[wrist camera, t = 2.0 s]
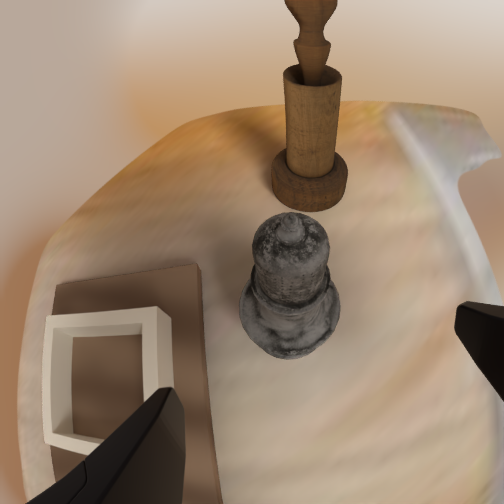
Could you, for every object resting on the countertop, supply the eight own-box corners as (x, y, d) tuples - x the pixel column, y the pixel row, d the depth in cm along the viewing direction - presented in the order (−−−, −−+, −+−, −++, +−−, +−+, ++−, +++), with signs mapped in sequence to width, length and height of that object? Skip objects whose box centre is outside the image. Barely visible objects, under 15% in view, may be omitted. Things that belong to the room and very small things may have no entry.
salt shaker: (330, 364, 17) (393, 307, 7) (242, 360, 18) (181, 299, 8) (331, 284, 20) (367, 157, 10) (251, 281, 21) (216, 155, 11)
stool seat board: (227, 528, 12) (215, 550, 9) (68, 498, 12) (40, 503, 9) (201, 270, 22) (186, 246, 19) (64, 290, 22) (39, 272, 19)
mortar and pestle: (292, 223, 23) (282, -17, 8) (261, 173, 26) (233, -20, 11) (358, 197, 24) (393, -9, 8) (321, 153, 27) (325, -24, 12)
